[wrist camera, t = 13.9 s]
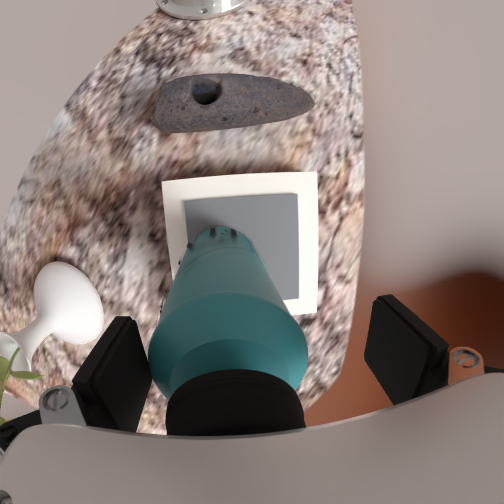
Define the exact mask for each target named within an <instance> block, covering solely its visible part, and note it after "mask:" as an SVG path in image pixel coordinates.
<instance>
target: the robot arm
mask: <svg viewBox="0 0 504 504" xmlns="http://www.w3.org/2000/svg"><path fill="white" fill-rule="evenodd" d="M249 1H250V0H156V3H157V5H158V6H159V8H160V9H161V10H162V11H163V12H165V13H166V14H168V15H170V16H173V17H176V18H181V19H189V20H200V19H210V18H215V17H219V16H223V15H226V14H229V13H231V12H234V11H236V10H238V9H239V8H241V7H243V6H244V5H245V4H247V3H248V2H249ZM448 346H449V344H448V343H447V342H446V341H445V340H444V339H442V338H441V337H440V336H439V335H438V334H437V333H436V332H435V331H434V330H432V329H431V328H430V327H429V326H428V325H427V324H426V323H425V322H423V321H422V320H421V319H420V318H419V317H418V316H417V315H415V314H414V313H413V312H412V311H411V310H410V309H408V308H407V307H406V306H405V305H404V304H402V303H401V302H400V301H399V300H397V298H395V297H394V296H393V295H391V294H390V295H383V296H378V297H377V299H376V300H375V301H374V302H373V306H372V313H371V319H370V325H369V331H368V337H367V342H366V348H365V352H364V359H365V362H366V363H367V365H368V366H369V368H370V369H371V371H372V372H373V374H374V375H375V377H376V378H377V380H378V382H379V383H380V384H381V386H382V388H383V389H384V391H385V392H386V394H387V395H388V397H389V399H390V400H391V402H392V403H393V405H394V406H391V407H388V408H385V409H382V410H379V411H375V412H372V413H368V414H365V415H361V416H357V417H354V418H350V419H345V420H341V421H337V422H332V423H328V424H323V425H318V426H312V427H307V428H301V429H294V430H287V431H280V432H271V433H262V434H250V435H234V436H174V435H158V434H146V433H136V431H137V427H138V424H139V421H140V417H141V414H142V411H143V408H144V404H145V401H146V398H147V395H148V392H149V389H150V386H151V383H152V376H151V373H150V369H149V363H148V360H147V357H146V354H145V351H144V347H143V344H142V341H141V337H140V334H139V330H138V326H137V323H136V321H135V320H132V318H131V317H130V316H116V317H115V318H114V320H113V321H112V322H111V324H110V325H109V327H108V328H107V329H106V331H105V332H104V334H103V335H102V336H101V338H100V339H99V341H98V342H97V344H96V345H95V346H94V348H93V349H92V351H91V352H90V354H89V355H88V357H87V358H86V360H85V361H84V363H83V364H82V366H81V367H80V369H79V370H78V372H77V373H76V375H75V376H74V378H73V380H72V382H73V385H72V387H71V388H69V387H67V386H64V385H57V386H53V387H51V388H49V389H47V390H46V391H44V392H43V394H42V395H41V396H40V399H39V410H36V411H34V412H31V413H28V414H26V415H23V416H21V417H18V418H15V419H13V420H10V421H7V422H5V423H3V424H2V425H1V426H0V504H504V369H498V368H492V367H486V366H484V365H483V359H482V357H481V355H480V354H479V353H478V352H476V351H475V350H473V349H471V348H467V347H458V348H455V349H453V350H452V351H451V352H450V353H449V352H447V349H448Z"/></svg>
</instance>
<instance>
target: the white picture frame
mask: <svg viewBox="0 0 504 504" xmlns="http://www.w3.org/2000/svg"><path fill="white" fill-rule="evenodd" d="M162 191H163V203H164V214H165V223H166V232H167V241H168V249H169V256H170V264H171V271H172V276H173V279H174V278H175V277H174V276H175V274H176V273H177V271H178V269H179V266H180V265H179V264H178V262H179V260H181V261H182V259H183V256H184V254H185V252H186V249H187V244H188V243H189V242H191V241H192V240H193V238H195V237H196V236H197V235H196V234H199V233H201V232H203V231H204V230H207V229H209V228H210V227H211V228H213V227H216V225H217V227H225V225H226V227H227V226H228V227H229V228H231V227H232V229H235V230H237V231H239V232H241V233H242V234H245V236H246V237H247V238H248V239H249V238H250V239H251V240H252V242H253V243H254V244H253V243H252V242H251V243H252V244H253V246H254V248H255V249H256V251H257V253H260V255H259V254H258V255H259V256H260V259H261V261H262V263H263V264H264V266H265V268H266V270H267V273H268V275H269V277H270V279H271V280H272V282H273V284H274V286H275V287H276V289H277V291H278V293H279V295H280V296H281V298H282V300H283V302H284V303H285V305H286V307H287V309H288V311H289V312H290V314H291V315H299V314H308V313H316V312H317V290H318V190H317V172H279V173H254V174H237V175H222V176H210V177H199V178H189V179H179V180H170V181H162ZM207 227H208V228H207ZM236 228H237V229H236ZM240 230H241V231H240ZM243 232H244V233H243ZM250 239H249V240H250ZM189 240H191V241H189ZM256 247H257V248H256ZM257 249H258V250H257ZM183 251H184V252H183ZM261 256H262V257H261ZM181 258H182V259H181ZM180 264H181V262H180ZM266 265H267V266H266ZM177 267H178V268H177ZM176 270H177V271H176ZM174 272H175V274H174Z"/></svg>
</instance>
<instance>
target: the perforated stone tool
mask: <svg viewBox="0 0 504 504" xmlns="http://www.w3.org/2000/svg"><path fill="white" fill-rule="evenodd" d="M314 105H315V103H314V101H313V99H312V97H311V96H310V95H309V94H308V93H307V92H306V91H304V90H303V89H300V88H298V87H295V86H293V85H290V84H287V83H285V82H283V81H280V80H278V79H273V78H269V77H257V76H253V75H245V74H202V75H193V76H186V77H181V78H177V79H174V80H173V81H170V82H168V83H164V84H163V85H162V87H161V92H160V96H159V100H158V102H157V103H156V107H155V112H154V113H152V114H151V116H150V120H151V122H152V123H154V125H156V127H157V128H159V130H161V131H162V132H164V133H186V132H201V131H212V130H223V129H231V128H240V127H246V126H253V125H260V124H266V123H272V122H278V121H283V120H287V119H290V118H293V117H296V116H299V115H302V114H304V113H306V112H308V111H309V110H311V109H312V108H313V107H314Z"/></svg>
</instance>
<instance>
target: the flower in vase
mask: <svg viewBox="0 0 504 504" xmlns="http://www.w3.org/2000/svg"><path fill="white" fill-rule="evenodd" d="M34 301H35V306H36V310H37V312H38V317H37V318H36V319H35V320H34V321H33V322H32V323H31V324H29V325H28V326H27V327H25V328H24V329H22V330H20V331H18V332H15V333H5V332H0V354H1V356H2V357H1V356H0V382H2V384H1V387H0V408H1V400H2V395H3V391H4V387H5V384H6V381H7V380H8V377H9V374H11V375H12V376H13V377H15V378H19V379H24V380H34V379H38V378H40V377H42V376H45V375H46V374H45V375H42V376H41V375H38V374H36V373H34V372H31V359H32V356H33V354H34V352H35V350H36V348H37V347H38V345H39V344H40V343H41V342H42V341H43V339H44V338H46V337H47V336H48V335H49V334H51V333H52V334H53V335H55V336H56V337H57V338H59V339H61V340H63V341H65V342H68V343H71V344H77V345H81V344H86V343H89V342H91V341H93V340H95V339H96V338H97V337H98V336H99V334H100V333H101V331H102V328H103V323H104V313H103V307H102V303H101V300H100V297H99V295H98V292H97V291H96V289H95V287H94V285H93V284H92V283H91V281H90V280H89V279H88V278H87V277H86V275H85V274H83V273H82V272H81V271H80V270H78V269H77V268H75V267H74V266H72V265H70V264H67V263H64V262H51V263H49V264H47V265H45V266H44V267H43V268H42V269H41V271H40V272H39V274H38V276H37V278H36V280H35V284H34ZM11 369H12V370H13V371H14V372H10V371H11ZM10 420H13V419H4V418H2V417H0V426H1V425H2V424H3V423H5V422H7V421H10Z"/></svg>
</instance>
